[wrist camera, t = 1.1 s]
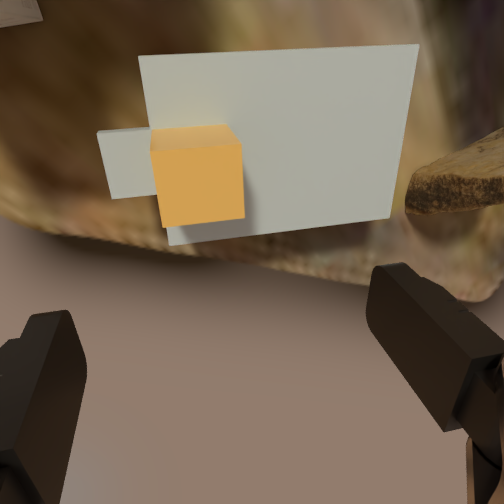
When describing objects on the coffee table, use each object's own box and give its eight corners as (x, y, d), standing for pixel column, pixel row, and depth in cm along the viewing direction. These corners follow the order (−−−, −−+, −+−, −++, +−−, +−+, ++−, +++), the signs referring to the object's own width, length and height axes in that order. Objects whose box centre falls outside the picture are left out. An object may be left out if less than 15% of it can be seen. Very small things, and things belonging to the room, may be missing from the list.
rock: (550, 94, 31) (457, 101, 28) (612, 179, 28) (516, 196, 25) (459, 171, 41) (383, 182, 38) (498, 240, 38) (419, 258, 35)
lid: (401, 43, 24) (479, 45, 18) (376, 207, 30) (429, 249, 24) (85, 57, 21) (55, 64, 15) (126, 238, 27) (117, 294, 21)
